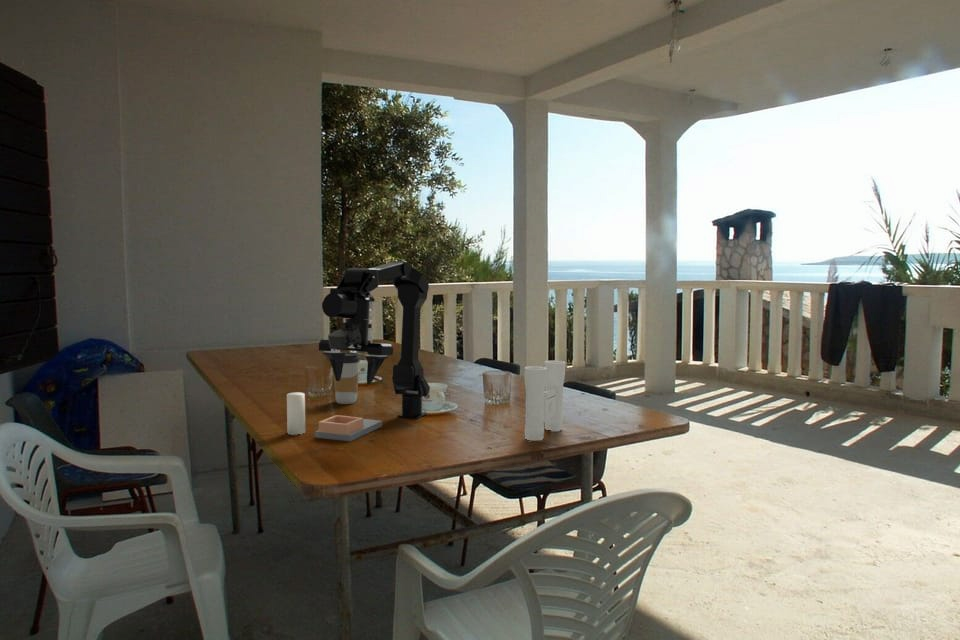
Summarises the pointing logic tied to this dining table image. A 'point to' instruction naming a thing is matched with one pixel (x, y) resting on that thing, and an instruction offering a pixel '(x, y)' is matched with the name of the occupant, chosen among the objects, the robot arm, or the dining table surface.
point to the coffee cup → (348, 380)
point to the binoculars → (544, 398)
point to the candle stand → (346, 427)
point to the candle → (295, 413)
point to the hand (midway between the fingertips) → (353, 382)
